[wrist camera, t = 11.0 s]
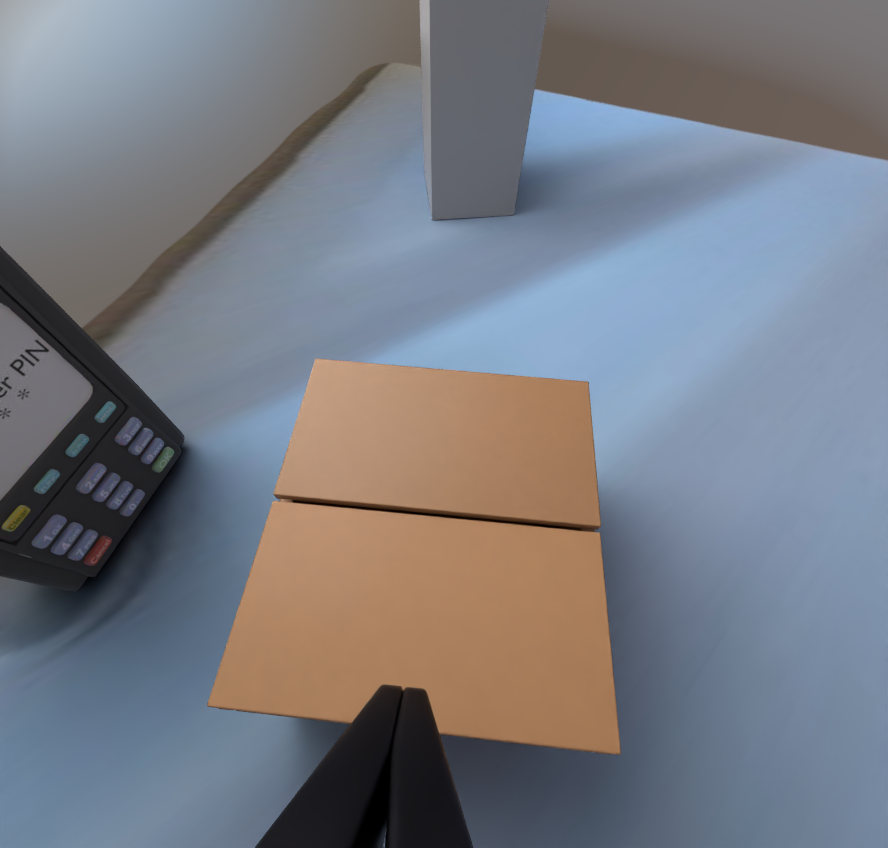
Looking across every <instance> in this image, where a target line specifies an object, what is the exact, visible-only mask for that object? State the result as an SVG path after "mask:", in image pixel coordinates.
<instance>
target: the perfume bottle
mask: <svg viewBox="0 0 888 848" xmlns="http://www.w3.org/2000/svg"><path fill="white" fill-rule="evenodd" d="M548 2H549V0H420V30H421V31H420V32H421V71H422V110H423V149H424V175H425V181H426V187H427V193H428V199H429V205H430V211H431V217H432V220H441V219H457V218H474V217H490V216H506V215H514V212H515V205H516V199H517V193H518V187H519V181H520V175H521V168H522V162H523V156H524V150H525V144H526V138H527V132H528V125H529V119H530V113H531V107H532V101H533V95H534V89H535V82H536V76H537V70H538V64H539V58H540V52H541V45H542V39H543V33H544V27H545V21H546V15H547V9H548Z"/></svg>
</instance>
